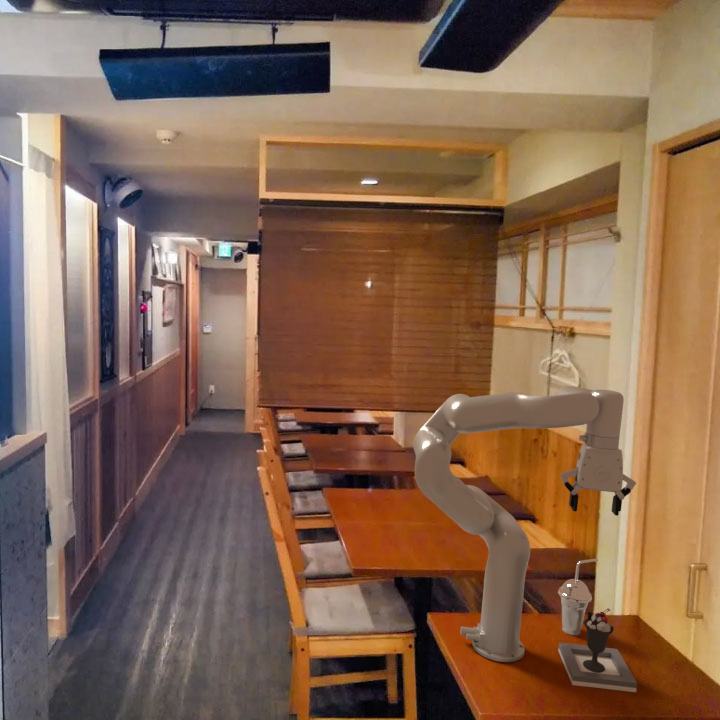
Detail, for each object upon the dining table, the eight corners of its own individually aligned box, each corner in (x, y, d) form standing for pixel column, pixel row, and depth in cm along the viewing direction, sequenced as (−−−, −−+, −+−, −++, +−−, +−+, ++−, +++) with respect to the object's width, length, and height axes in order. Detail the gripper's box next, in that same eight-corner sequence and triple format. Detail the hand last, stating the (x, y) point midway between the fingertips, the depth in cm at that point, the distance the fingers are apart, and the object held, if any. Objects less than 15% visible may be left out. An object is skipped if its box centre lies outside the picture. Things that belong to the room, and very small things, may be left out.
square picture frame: (572, 684, 143) (573, 675, 142) (558, 651, 157) (559, 642, 156) (636, 692, 142) (637, 683, 141) (616, 657, 155) (617, 649, 155)
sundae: (611, 677, 145) (618, 614, 144) (581, 671, 146) (588, 609, 145) (606, 661, 151) (613, 601, 150) (577, 656, 153) (583, 597, 151)
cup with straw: (555, 619, 173) (562, 548, 171) (590, 627, 169) (598, 555, 167) (553, 634, 165) (560, 560, 163) (589, 643, 161) (598, 567, 160)
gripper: (568, 442, 148) (560, 513, 149) (644, 448, 146) (636, 520, 148) (561, 435, 155) (554, 503, 157) (634, 441, 154) (626, 510, 155)
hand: (594, 511), depth 152 cm, fingers open, 9 cm apart
